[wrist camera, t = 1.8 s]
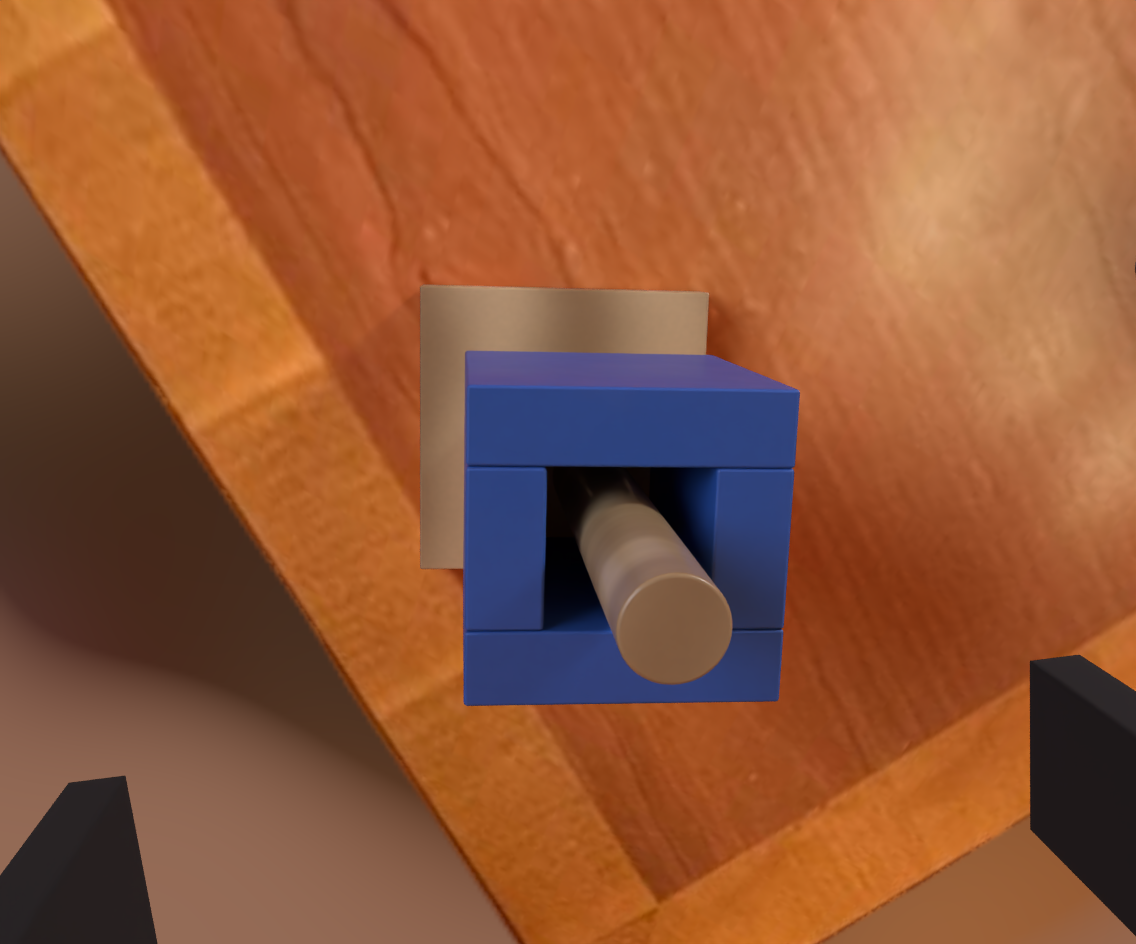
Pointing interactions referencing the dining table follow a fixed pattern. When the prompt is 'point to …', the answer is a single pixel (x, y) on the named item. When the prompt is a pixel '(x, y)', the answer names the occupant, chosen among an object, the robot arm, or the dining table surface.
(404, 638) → the dining table surface
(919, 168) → the dining table surface
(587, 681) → the blue collar
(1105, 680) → the robot arm
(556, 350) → the dowel stand
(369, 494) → the dining table surface
